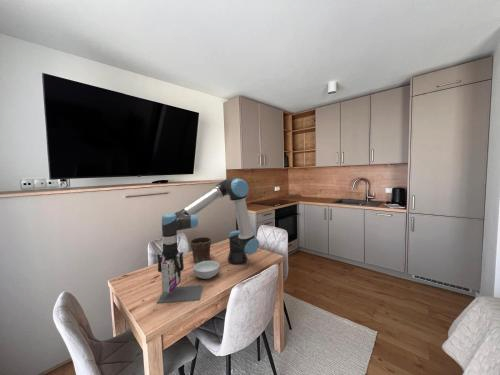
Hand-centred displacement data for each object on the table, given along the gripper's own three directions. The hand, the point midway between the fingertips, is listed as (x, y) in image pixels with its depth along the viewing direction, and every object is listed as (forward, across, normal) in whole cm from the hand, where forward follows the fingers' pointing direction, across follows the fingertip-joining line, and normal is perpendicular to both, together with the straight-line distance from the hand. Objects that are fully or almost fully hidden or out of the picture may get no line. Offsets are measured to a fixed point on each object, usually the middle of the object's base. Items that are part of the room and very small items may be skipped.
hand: (171, 282), depth 114 cm
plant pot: (+7, -10, -44) cm, 46 cm away
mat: (+7, -5, 0) cm, 9 cm away
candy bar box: (+3, 0, 0) cm, 3 cm away
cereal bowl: (+7, -17, -19) cm, 27 cm away
